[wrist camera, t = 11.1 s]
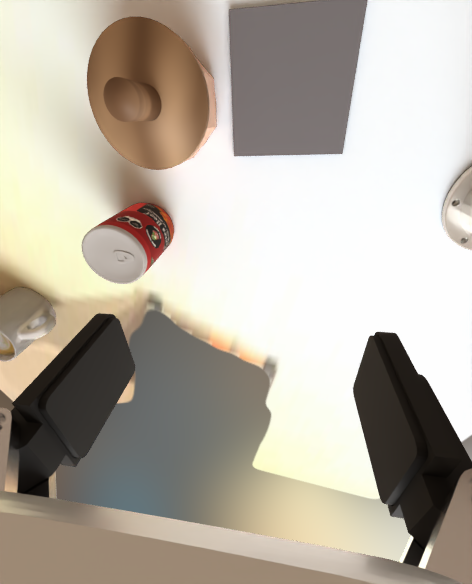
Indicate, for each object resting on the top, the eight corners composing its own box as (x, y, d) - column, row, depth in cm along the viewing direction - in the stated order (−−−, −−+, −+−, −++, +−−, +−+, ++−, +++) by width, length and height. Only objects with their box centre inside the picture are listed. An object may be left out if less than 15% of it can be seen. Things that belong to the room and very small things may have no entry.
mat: (366, -2, 25) (367, -5, 25) (341, 153, 32) (342, 153, 32) (230, 11, 27) (228, 9, 26) (234, 155, 34) (234, 156, 33)
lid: (203, 14, 23) (180, -15, 18) (214, 167, 29) (199, 177, 24) (76, 26, 25) (22, 3, 19) (113, 168, 31) (80, 179, 26)
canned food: (183, 242, 42) (156, 277, 33) (140, 254, 44) (104, 290, 35) (161, 193, 38) (123, 218, 29) (116, 209, 40) (68, 236, 31)
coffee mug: (16, 320, 58) (-28, 355, 50) (1, 282, 52) (-52, 313, 44) (75, 333, 57) (41, 370, 49) (66, 296, 52) (25, 330, 43)
